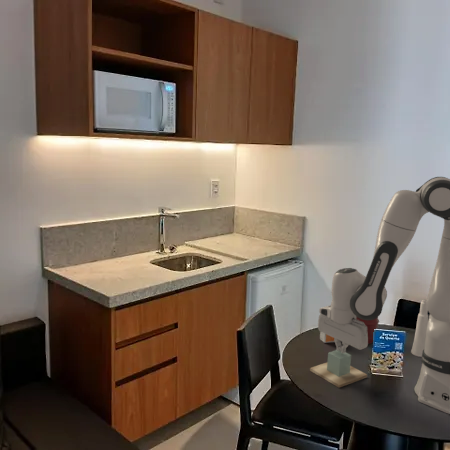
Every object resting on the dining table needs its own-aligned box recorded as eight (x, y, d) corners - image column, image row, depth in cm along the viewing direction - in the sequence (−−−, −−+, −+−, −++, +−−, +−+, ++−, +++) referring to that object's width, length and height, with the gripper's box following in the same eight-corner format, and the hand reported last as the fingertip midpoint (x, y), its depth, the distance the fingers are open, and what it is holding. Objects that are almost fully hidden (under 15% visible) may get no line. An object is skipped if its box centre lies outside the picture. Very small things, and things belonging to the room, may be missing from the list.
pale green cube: (349, 372, 171) (351, 355, 170) (338, 376, 168) (340, 358, 166) (337, 366, 175) (339, 349, 174) (326, 369, 172) (328, 352, 171)
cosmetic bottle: (430, 354, 190) (436, 300, 186) (422, 358, 186) (428, 304, 182) (415, 349, 194) (421, 296, 190) (407, 353, 190) (413, 299, 186)
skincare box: (324, 343, 197) (326, 315, 195) (319, 339, 201) (321, 311, 199) (337, 342, 198) (340, 314, 196) (332, 337, 202) (334, 310, 200)
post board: (366, 377, 170) (368, 359, 169) (339, 387, 162) (340, 368, 161) (337, 361, 181) (338, 344, 180) (309, 370, 174) (310, 352, 172)
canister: (353, 345, 196) (357, 303, 192) (340, 332, 208) (343, 293, 205) (383, 343, 198) (387, 302, 195) (367, 330, 211) (371, 292, 208)
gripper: (373, 321, 161) (370, 360, 163) (328, 304, 178) (326, 339, 180) (360, 325, 157) (358, 365, 160) (316, 307, 174) (314, 343, 177)
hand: (341, 351), depth 170 cm, fingers closed
